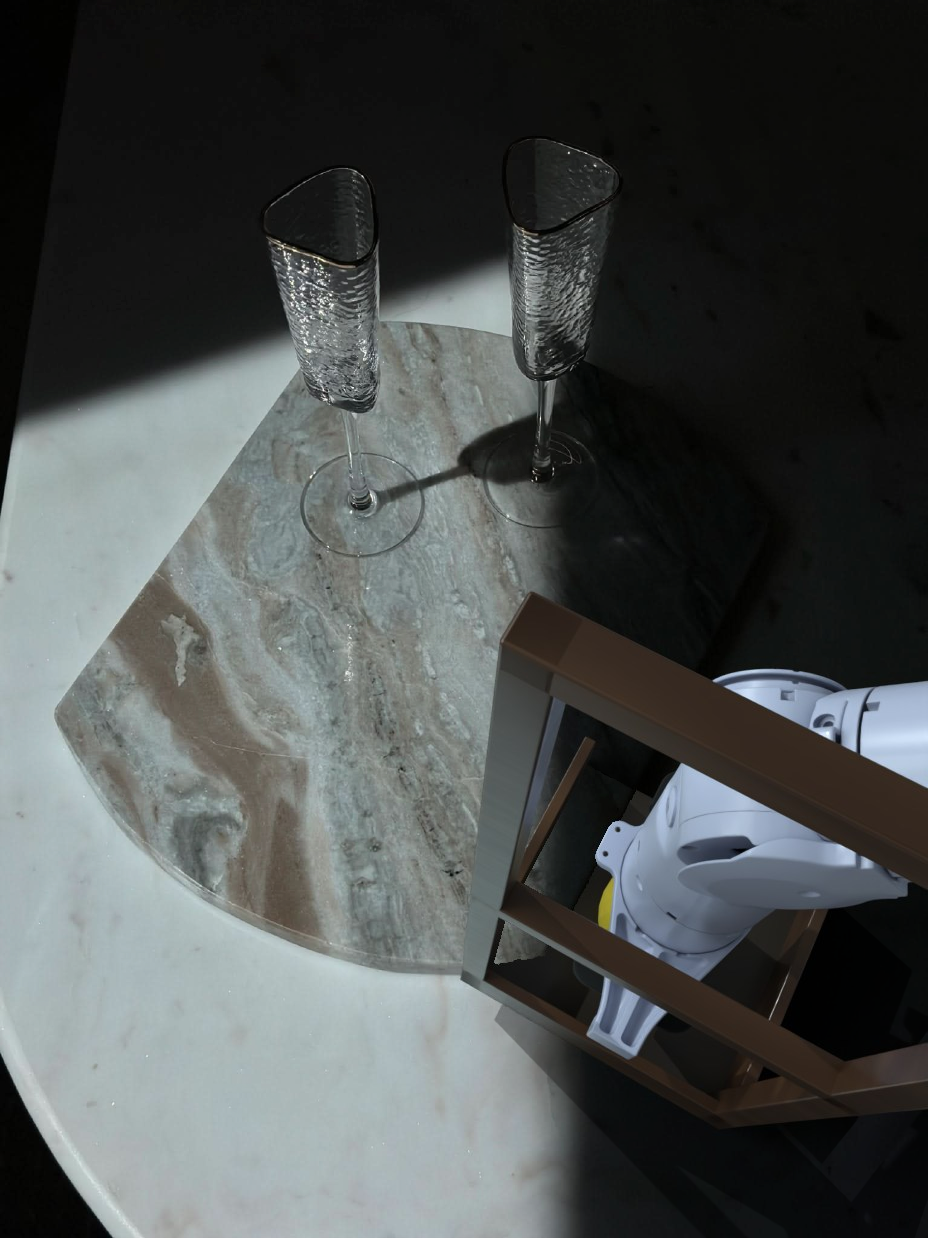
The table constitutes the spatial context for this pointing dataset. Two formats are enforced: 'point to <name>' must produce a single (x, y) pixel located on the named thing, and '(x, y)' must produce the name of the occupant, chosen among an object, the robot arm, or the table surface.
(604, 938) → the rack
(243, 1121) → the table surface
